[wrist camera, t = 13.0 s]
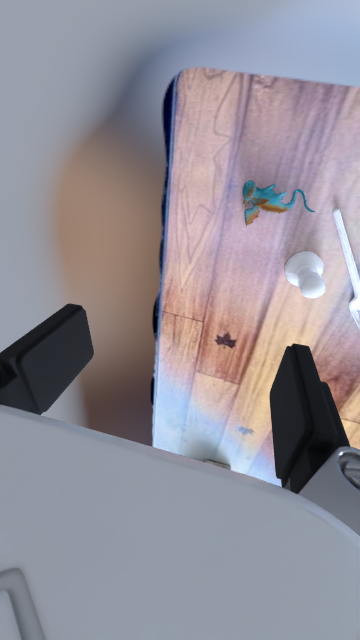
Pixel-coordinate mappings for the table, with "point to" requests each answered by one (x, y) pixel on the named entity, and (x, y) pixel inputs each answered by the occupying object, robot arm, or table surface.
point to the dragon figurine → (265, 200)
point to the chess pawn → (306, 273)
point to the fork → (349, 266)
